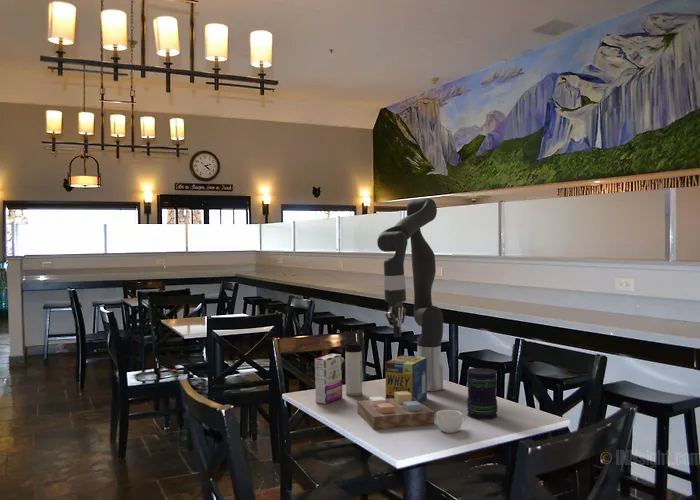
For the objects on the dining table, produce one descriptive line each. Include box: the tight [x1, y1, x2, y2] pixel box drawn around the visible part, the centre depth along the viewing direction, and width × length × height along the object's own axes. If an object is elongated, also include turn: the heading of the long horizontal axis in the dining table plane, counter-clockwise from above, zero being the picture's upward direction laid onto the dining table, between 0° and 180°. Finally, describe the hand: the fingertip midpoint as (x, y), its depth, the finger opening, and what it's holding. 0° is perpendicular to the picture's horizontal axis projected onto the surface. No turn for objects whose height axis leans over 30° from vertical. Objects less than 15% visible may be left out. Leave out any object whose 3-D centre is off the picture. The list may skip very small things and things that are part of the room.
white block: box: [368, 396, 386, 406], centre depth 202 cm, size 5×5×4 cm
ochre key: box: [394, 391, 412, 404], centre depth 204 cm, size 5×5×4 cm
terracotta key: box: [377, 403, 395, 414], centre depth 193 cm, size 5×5×4 cm
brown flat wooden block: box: [356, 397, 435, 431], centre depth 199 cm, size 20×20×4 cm
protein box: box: [385, 354, 428, 403], centre depth 220 cm, size 10×15×16 cm
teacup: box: [436, 409, 466, 434], centre depth 185 cm, size 10×8×5 cm
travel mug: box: [344, 342, 363, 397], centre depth 231 cm, size 6×7×20 cm
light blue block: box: [403, 401, 421, 411], centre depth 195 cm, size 5×5×4 cm
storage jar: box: [466, 367, 498, 421], centre depth 201 cm, size 10×10×15 cm
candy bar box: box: [314, 353, 343, 405], centre depth 223 cm, size 11×5×16 cm, turn 148°
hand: (397, 336), depth 213 cm, fingers closed
